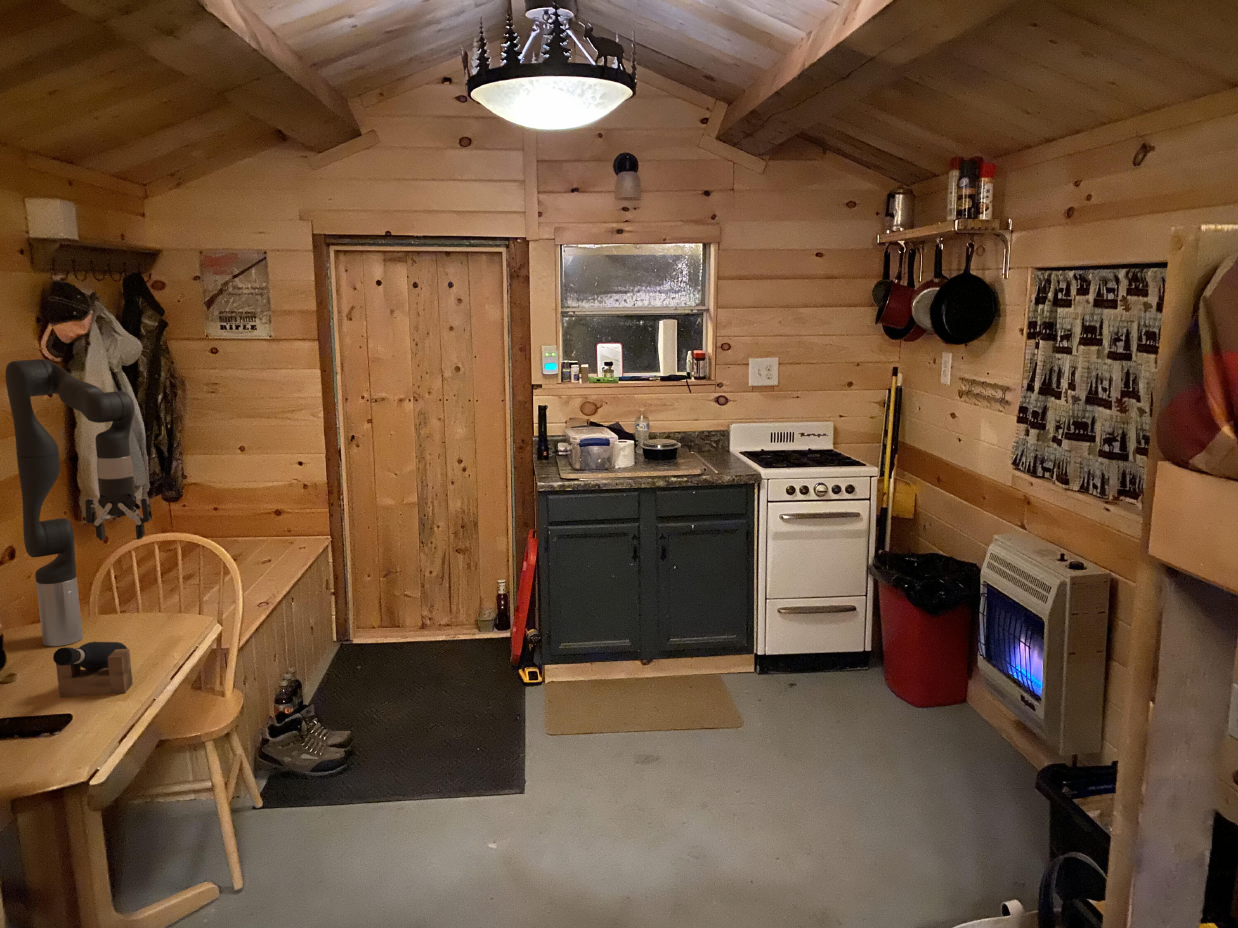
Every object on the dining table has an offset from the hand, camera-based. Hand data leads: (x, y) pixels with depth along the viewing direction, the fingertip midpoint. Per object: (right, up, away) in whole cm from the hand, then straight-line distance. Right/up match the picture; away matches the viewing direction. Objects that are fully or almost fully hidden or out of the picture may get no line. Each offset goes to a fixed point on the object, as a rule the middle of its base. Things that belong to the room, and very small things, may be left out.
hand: (121, 539), depth 221 cm
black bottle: (-4, -29, +4) cm, 30 cm away
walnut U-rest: (-1, -35, -9) cm, 36 cm away
